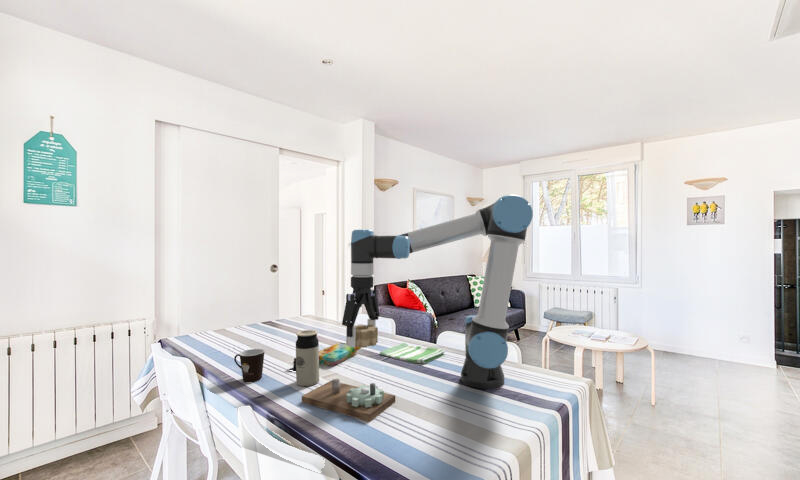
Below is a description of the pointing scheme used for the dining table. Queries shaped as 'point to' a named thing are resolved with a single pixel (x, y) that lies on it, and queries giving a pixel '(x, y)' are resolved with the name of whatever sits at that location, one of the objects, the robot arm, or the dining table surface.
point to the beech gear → (365, 335)
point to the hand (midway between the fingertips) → (361, 342)
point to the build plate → (294, 365)
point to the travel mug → (307, 358)
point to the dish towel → (413, 353)
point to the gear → (365, 395)
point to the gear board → (344, 401)
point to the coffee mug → (251, 364)
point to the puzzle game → (336, 354)
